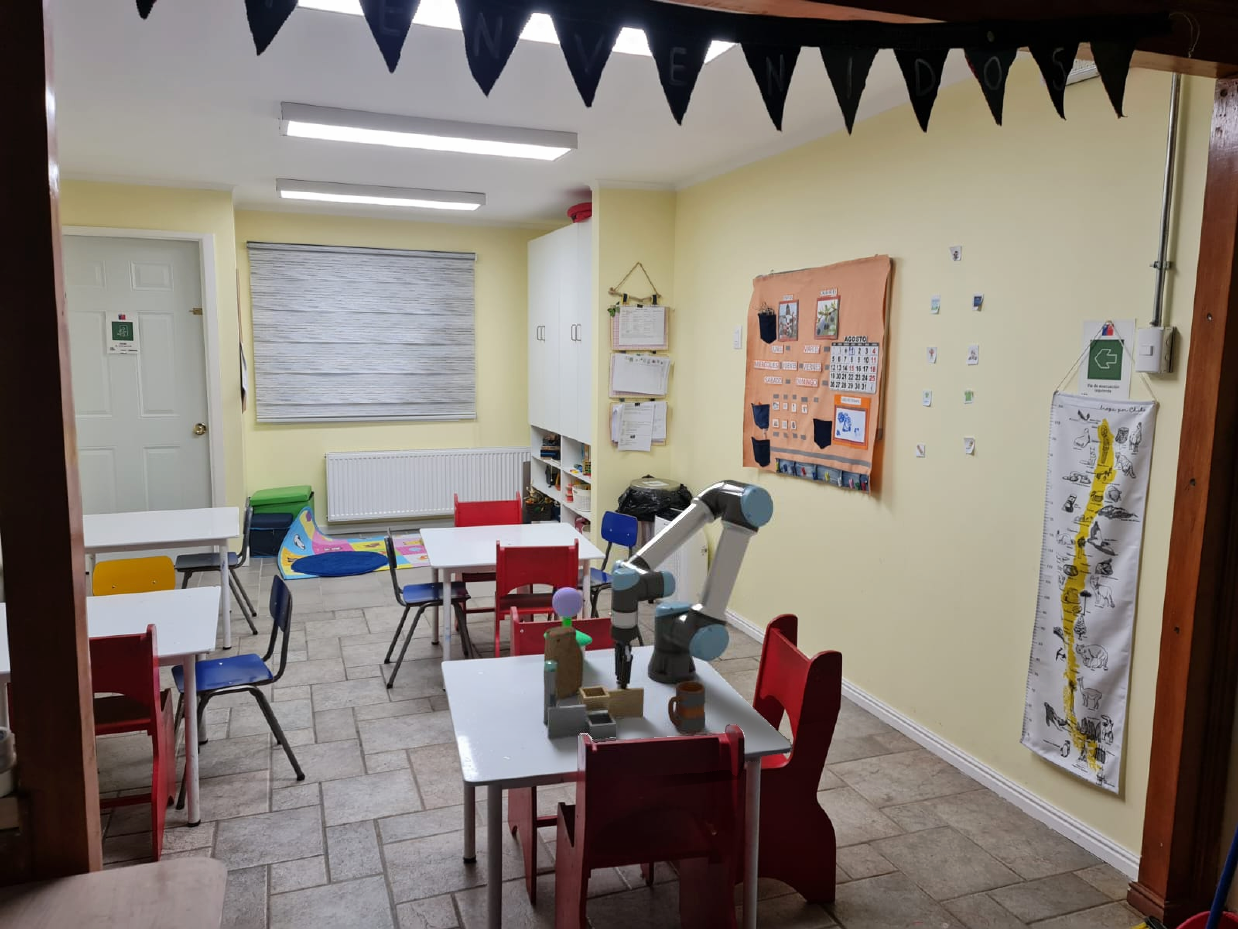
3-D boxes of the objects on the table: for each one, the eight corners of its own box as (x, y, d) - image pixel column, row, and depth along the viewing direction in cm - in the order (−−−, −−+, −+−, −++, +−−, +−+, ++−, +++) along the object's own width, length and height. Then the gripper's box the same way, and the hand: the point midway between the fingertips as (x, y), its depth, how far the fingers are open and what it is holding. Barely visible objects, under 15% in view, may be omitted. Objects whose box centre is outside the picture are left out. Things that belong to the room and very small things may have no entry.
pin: (555, 719, 236) (555, 660, 234) (557, 724, 233) (558, 664, 231) (542, 720, 236) (543, 660, 233) (544, 725, 232) (545, 665, 230)
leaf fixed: (610, 726, 233) (610, 697, 232) (616, 738, 226) (617, 708, 225) (545, 731, 229) (546, 702, 228) (550, 744, 222) (550, 714, 221)
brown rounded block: (551, 701, 248) (551, 635, 245) (541, 691, 254) (542, 626, 251) (585, 695, 252) (586, 630, 250) (575, 686, 259) (576, 622, 256)
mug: (657, 728, 232) (658, 687, 230) (690, 717, 239) (691, 677, 238) (678, 741, 225) (680, 698, 224) (711, 729, 233) (713, 688, 231)
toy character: (598, 665, 276) (599, 589, 272) (567, 674, 268) (569, 596, 264) (568, 651, 288) (570, 578, 284) (538, 659, 280) (539, 585, 276)
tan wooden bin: (639, 709, 243) (639, 683, 242) (646, 720, 236) (646, 693, 235) (578, 714, 239) (578, 687, 238) (583, 725, 232) (584, 698, 231)
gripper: (605, 617, 246) (603, 695, 249) (616, 632, 233) (614, 714, 237) (631, 615, 248) (628, 693, 251) (643, 631, 235) (640, 712, 238)
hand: (621, 703), depth 244 cm, fingers closed
